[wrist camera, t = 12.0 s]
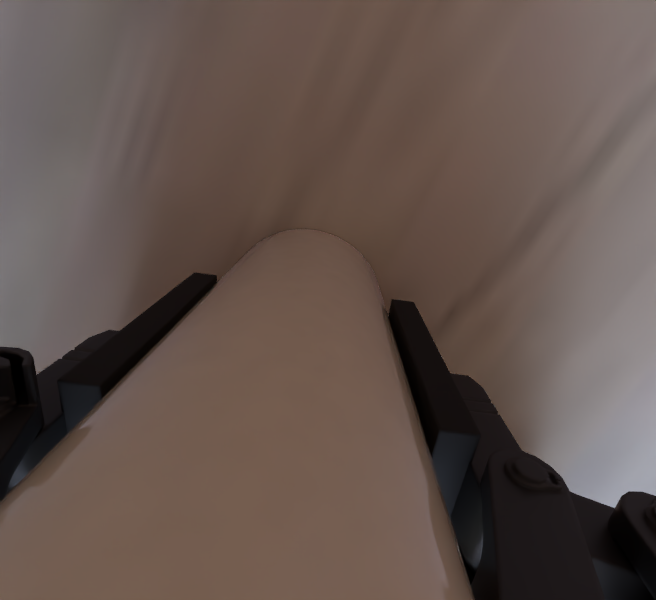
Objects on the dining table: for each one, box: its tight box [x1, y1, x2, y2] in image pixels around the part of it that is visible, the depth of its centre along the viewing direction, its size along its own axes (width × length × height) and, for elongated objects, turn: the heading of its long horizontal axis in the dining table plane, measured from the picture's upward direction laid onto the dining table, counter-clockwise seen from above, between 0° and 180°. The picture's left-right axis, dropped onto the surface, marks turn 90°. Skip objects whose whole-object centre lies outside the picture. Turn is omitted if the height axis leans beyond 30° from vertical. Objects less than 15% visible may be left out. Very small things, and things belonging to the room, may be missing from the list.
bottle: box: [0, 229, 475, 600], centre depth 8 cm, size 6×6×14 cm
